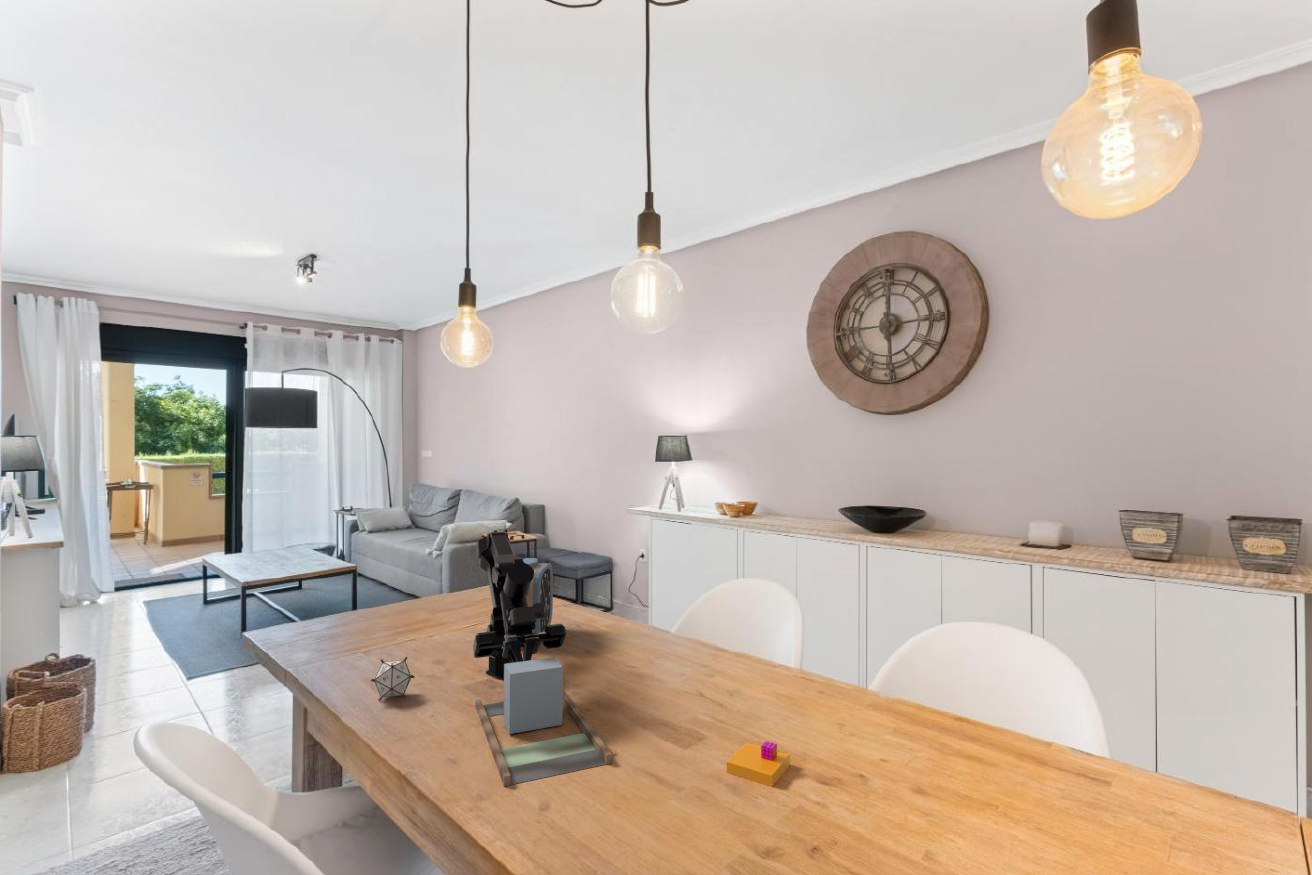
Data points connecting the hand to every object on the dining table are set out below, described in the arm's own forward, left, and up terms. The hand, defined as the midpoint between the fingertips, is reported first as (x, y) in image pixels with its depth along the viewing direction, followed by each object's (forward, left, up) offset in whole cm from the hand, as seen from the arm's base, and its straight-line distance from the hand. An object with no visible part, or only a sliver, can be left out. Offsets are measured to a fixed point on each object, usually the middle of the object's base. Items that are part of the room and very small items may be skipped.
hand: (526, 678), depth 124 cm
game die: (+13, -28, -7) cm, 32 cm away
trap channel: (+5, +9, -7) cm, 12 cm away
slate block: (+3, +6, -7) cm, 9 cm away
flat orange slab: (-9, +48, -7) cm, 49 cm away
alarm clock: (-33, -38, -7) cm, 51 cm away
